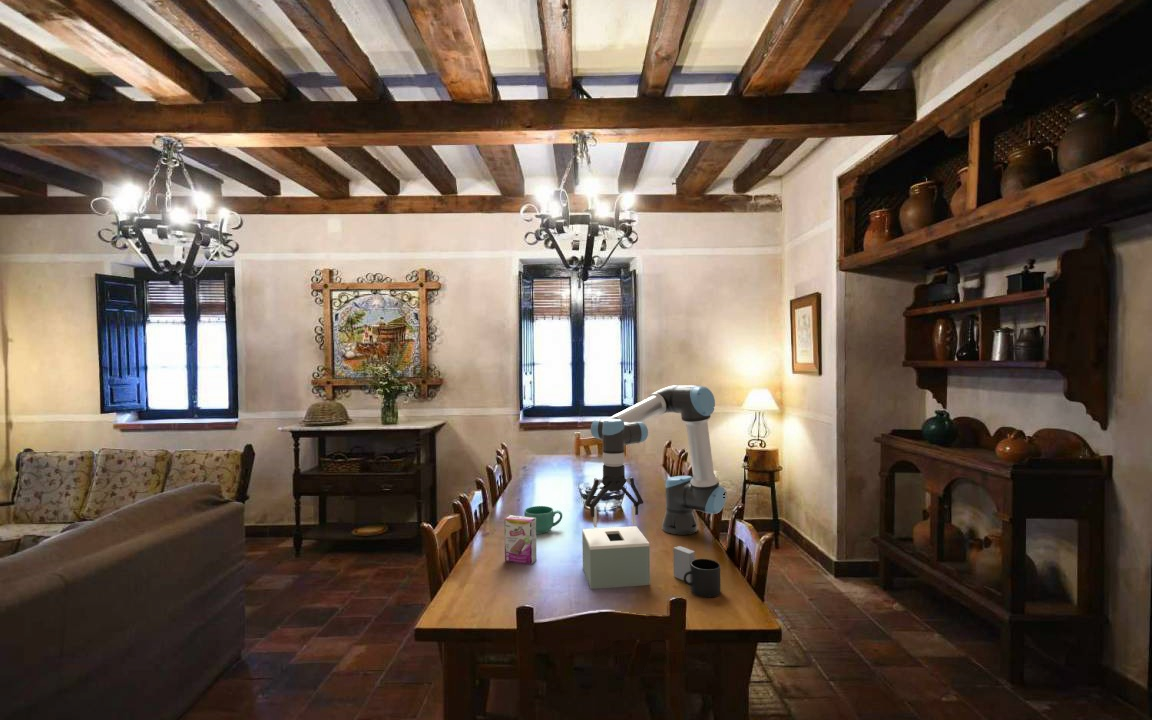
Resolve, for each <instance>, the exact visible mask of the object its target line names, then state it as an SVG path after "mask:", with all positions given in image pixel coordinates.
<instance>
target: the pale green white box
mask: <svg viewBox="0 0 1152 720" xmlns="http://www.w3.org/2000/svg"><path fill="white" fill-rule="evenodd" d="M581 530H582V533H581V535H582V537H581V539H582V541H581V543H582V570H583V573H584V575H585V577H586V580H587V582H588V586H589V588H590V590H596V589H608V588H609V589H610V588H624V587H625V588H626V587H638V586H639V587H641V586H651V573H650V569H651V568H650V566H651V565H650V562H651V561H650V556H651V555H650V553H651V552H650V551H651V550H650V542H649V541H648V539H647V538H646V537H645V536H644V534H643V533H642V531H640V529H639V528H638V526H637V525H632V526H619V527H618V526H617V527H615V526H614V527H600V528H599V527H598V528H597V527H595V528H582V529H581Z"/></svg>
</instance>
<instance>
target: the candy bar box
mask: <svg viewBox="0 0 1152 720" xmlns="http://www.w3.org/2000/svg"><path fill="white" fill-rule="evenodd" d="M504 561H505V562H507V561H509V563H514V562H516V563H515V564H522V565H523V564H524V565H530V566H531V565H533V564H534V563H536V562H537V534H536V518H533V517H524V516H522V515H515V514H514V515H513V514H512V515H511V514H509V515H507V516H506V517H505V518H504Z"/></svg>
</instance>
